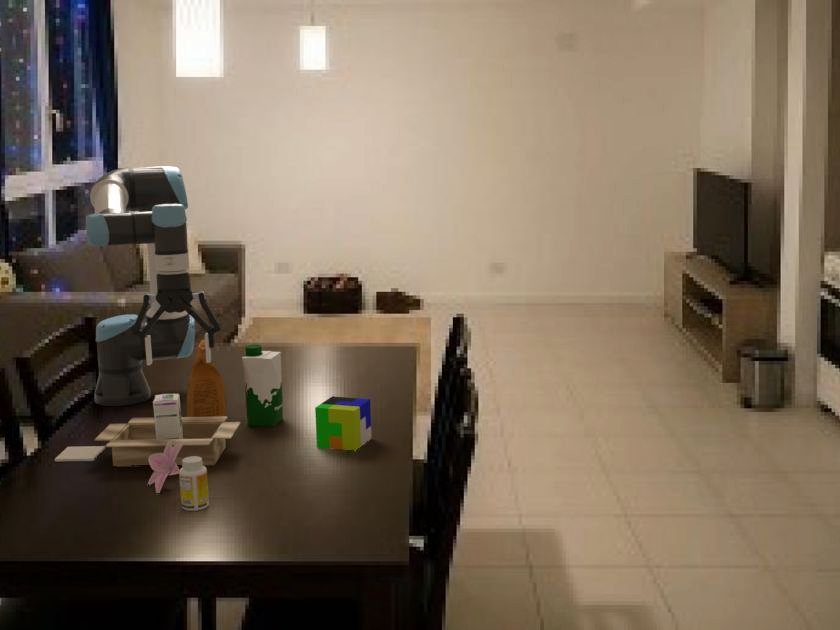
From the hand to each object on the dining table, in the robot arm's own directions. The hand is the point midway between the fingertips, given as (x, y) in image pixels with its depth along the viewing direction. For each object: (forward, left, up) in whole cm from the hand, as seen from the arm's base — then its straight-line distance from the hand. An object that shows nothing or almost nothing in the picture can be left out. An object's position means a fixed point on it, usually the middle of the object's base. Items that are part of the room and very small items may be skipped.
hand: (179, 363), depth 246 cm
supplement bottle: (+34, +10, -22) cm, 42 cm away
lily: (+21, +1, -22) cm, 31 cm away
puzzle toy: (-6, +37, -22) cm, 44 cm away
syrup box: (+2, -3, -22) cm, 22 cm away
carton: (+2, -3, -22) cm, 22 cm away
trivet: (0, -25, -22) cm, 33 cm away
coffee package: (-20, +1, -22) cm, 30 cm away
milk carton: (-24, +15, -22) cm, 36 cm away
